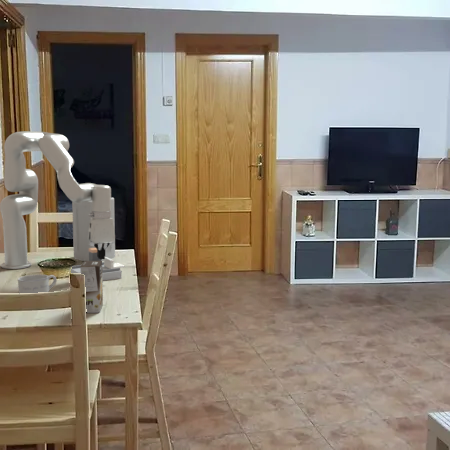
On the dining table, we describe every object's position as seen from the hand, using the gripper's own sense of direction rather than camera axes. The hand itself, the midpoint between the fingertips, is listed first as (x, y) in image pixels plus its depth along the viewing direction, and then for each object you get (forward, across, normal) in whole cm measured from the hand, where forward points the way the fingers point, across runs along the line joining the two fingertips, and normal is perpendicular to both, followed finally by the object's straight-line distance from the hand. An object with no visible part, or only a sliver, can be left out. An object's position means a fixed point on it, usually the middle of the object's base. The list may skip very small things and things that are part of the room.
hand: (101, 258), depth 262 cm
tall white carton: (+8, +10, +31) cm, 34 cm away
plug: (+7, +2, +11) cm, 14 cm away
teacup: (+8, -33, -20) cm, 39 cm away
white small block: (+4, +6, -1) cm, 7 cm away
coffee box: (+7, -22, -44) cm, 49 cm away
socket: (+7, -3, -1) cm, 8 cm away
